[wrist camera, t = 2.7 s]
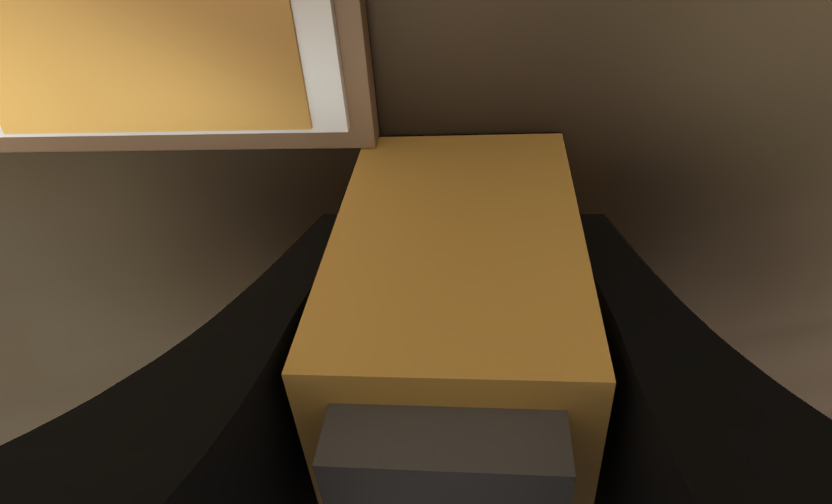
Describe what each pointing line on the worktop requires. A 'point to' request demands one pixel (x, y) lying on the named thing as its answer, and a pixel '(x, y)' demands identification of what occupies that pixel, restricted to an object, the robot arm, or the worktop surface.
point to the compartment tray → (185, 75)
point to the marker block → (454, 331)
